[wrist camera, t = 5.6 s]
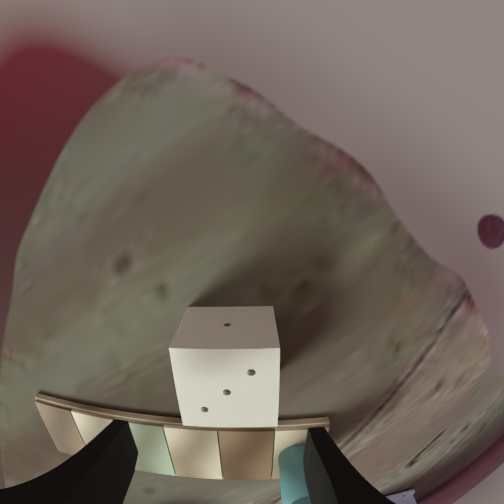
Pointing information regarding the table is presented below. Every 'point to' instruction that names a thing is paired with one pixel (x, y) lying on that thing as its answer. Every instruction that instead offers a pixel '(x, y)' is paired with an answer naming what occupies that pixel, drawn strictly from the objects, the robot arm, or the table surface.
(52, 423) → the board
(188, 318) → the die
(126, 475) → the robot arm
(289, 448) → the teal capsule cylinder
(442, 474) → the table surface
